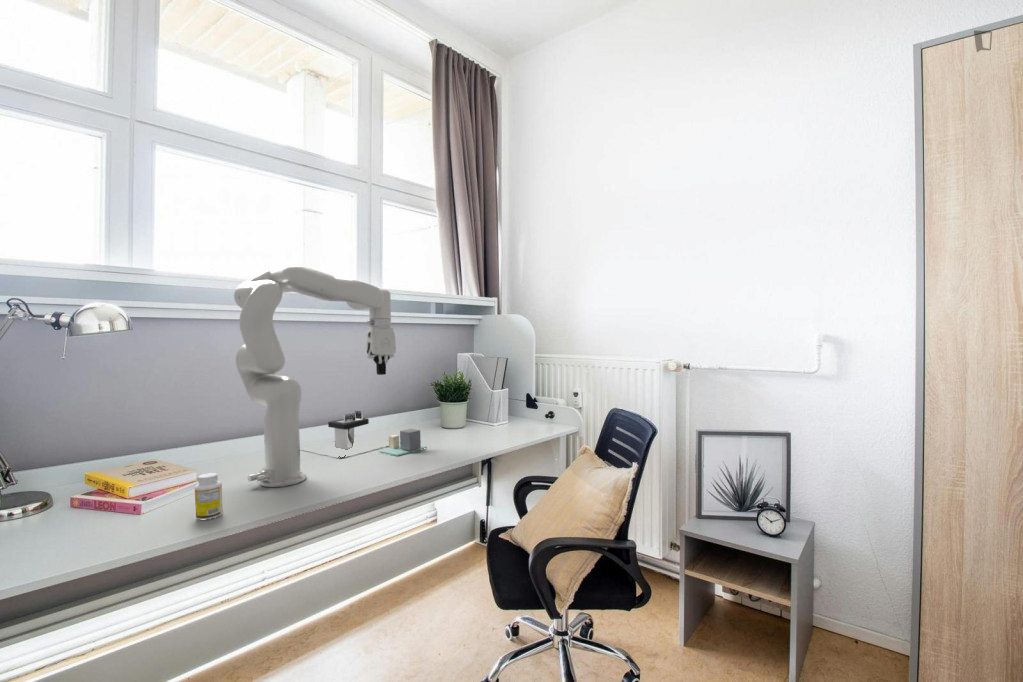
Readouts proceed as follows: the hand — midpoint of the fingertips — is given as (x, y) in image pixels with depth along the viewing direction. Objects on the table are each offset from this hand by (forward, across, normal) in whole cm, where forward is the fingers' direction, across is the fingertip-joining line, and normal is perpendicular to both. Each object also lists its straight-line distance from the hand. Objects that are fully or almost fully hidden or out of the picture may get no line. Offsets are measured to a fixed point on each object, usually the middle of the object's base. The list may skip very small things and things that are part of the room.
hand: (381, 374), depth 176 cm
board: (+29, +7, -3) cm, 30 cm away
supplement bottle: (+30, -63, -15) cm, 71 cm away
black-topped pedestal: (+29, 0, +20) cm, 35 cm away
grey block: (+28, +8, -6) cm, 30 cm away
